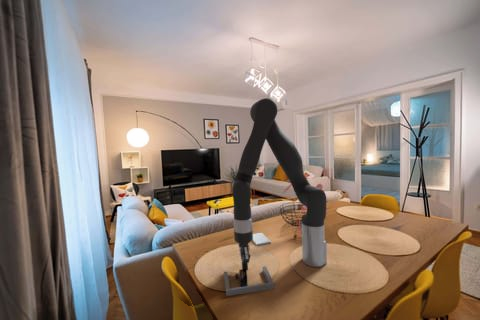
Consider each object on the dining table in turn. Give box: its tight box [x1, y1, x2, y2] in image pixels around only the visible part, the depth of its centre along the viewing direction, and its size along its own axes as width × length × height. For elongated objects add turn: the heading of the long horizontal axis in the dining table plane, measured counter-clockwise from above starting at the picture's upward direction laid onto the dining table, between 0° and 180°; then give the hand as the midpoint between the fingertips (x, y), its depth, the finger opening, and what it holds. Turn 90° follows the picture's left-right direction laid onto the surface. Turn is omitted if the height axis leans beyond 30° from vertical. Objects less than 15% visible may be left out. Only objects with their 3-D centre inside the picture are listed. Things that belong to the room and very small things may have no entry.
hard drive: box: [251, 232, 272, 247], centre depth 112 cm, size 2×8×12 cm
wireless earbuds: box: [234, 268, 249, 287], centre depth 78 cm, size 5×7×3 cm, turn 3°
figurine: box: [282, 174, 326, 235], centre depth 119 cm, size 15×26×35 cm, turn 114°
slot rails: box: [223, 265, 275, 297], centre depth 77 cm, size 17×11×2 cm, turn 99°
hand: (245, 269), depth 82 cm, fingers closed
